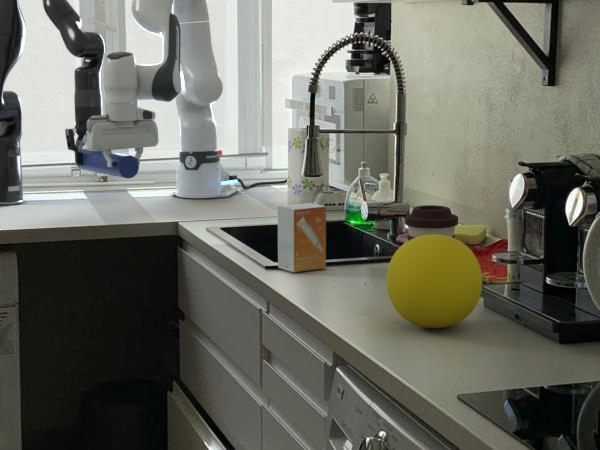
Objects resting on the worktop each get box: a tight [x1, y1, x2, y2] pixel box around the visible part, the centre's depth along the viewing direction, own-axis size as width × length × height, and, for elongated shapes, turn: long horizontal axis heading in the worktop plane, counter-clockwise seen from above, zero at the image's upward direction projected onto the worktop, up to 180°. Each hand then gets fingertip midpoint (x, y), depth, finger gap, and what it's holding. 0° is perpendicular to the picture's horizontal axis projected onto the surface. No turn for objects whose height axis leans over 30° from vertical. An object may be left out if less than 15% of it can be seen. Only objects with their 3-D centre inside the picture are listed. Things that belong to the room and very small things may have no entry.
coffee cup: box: [404, 204, 459, 241], centre depth 197 cm, size 10×10×15 cm
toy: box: [386, 234, 483, 329], centre depth 168 cm, size 15×15×15 cm
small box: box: [277, 202, 327, 273], centre depth 214 cm, size 8×6×13 cm
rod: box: [76, 148, 140, 179], centre depth 286 cm, size 24×6×6 cm, turn 40°
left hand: (90, 164), depth 293 cm, fingers closed on rod, 6 cm apart
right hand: (123, 165), depth 279 cm, fingers closed on rod, 6 cm apart
